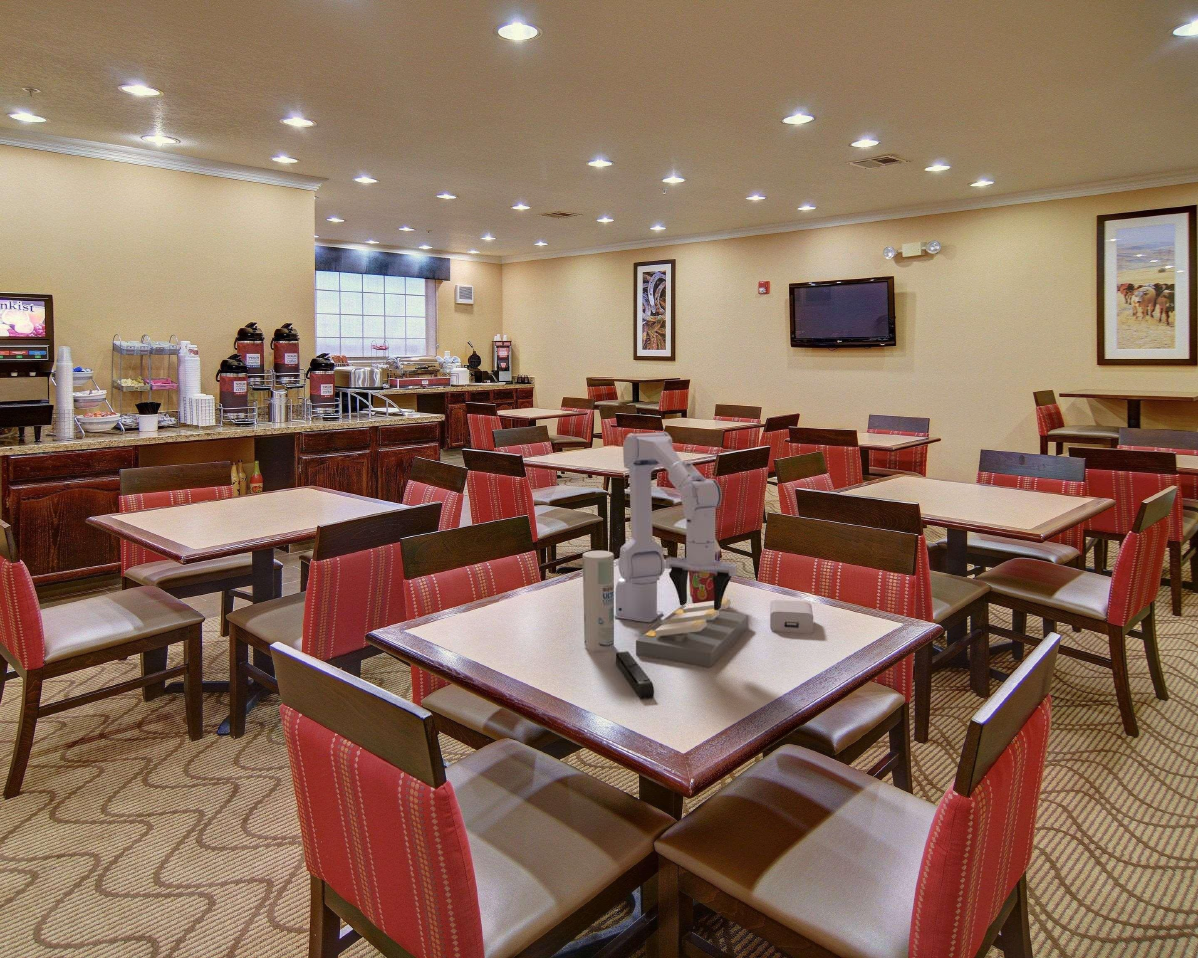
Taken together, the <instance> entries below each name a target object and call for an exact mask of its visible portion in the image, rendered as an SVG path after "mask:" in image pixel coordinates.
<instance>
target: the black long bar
mask: <svg viewBox="0 0 1198 958" xmlns="http://www.w3.org/2000/svg"><path fill="white" fill-rule="evenodd" d="M615 665H616V667H617V668H618V670H619V671H620V673H621V674H622V675H623V677H624V679H625V680H626V681H627V682H628V684H629V685H630V687H632V689H633V691H634V692H635V694H636V695H637V697H638V698H639V699H640V700H642V699H643V700H644V699H650V698H654V697H655V688H654V683H653V682H652V680H651V679H650V678H649V676H648V675H647V673H645V671H644V670H643V668H642V667H641V666H640V665H639V663H637V661H636V660H635V659H634V657H633V656H632V655H631V653H630V652H629V651H628V650H627V651H618V652H615Z"/></svg>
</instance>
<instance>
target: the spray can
mask: <svg viewBox="0 0 1198 958" xmlns="http://www.w3.org/2000/svg"><path fill="white" fill-rule="evenodd" d="M582 590H583V591H582V592H583V633H584V634H583V635H584V636H583V637H584V638H583V639H584V643H583V644H584V648H585V647H586V648H587V650H588V649H589V650H588V651H591V650H593V651H592V652H605V651H606V652H607V651H609V650H612V649H613V648H614V647H615V646H614V645H615V617H614V615H615V602H614V601H615V554H614V553H613V551H612V552H611V551H608V550H590V551H585V552H584V553H582ZM586 648H585V649H586Z"/></svg>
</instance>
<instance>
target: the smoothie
mask: <svg viewBox="0 0 1198 958" xmlns="http://www.w3.org/2000/svg"><path fill="white" fill-rule="evenodd" d="M721 550H722V548H721V547H720V545H719V541H718V540H717V539H716V538H715V561H720V562H721ZM715 575H717V573H708V572H700V571H691V570H689V571H688V582H689V587H688V588H689V596H690V597H691V601H692V602H694V603H701V602H709V601H714V585H713V577H714V576H715Z"/></svg>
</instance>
